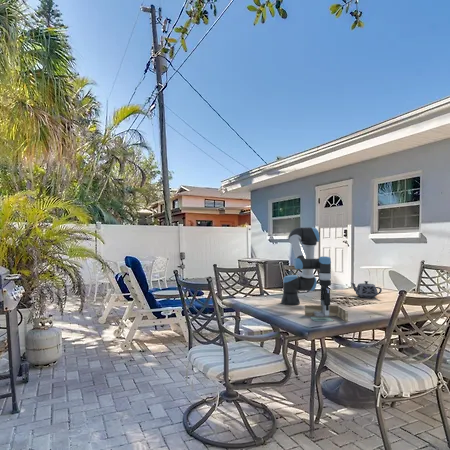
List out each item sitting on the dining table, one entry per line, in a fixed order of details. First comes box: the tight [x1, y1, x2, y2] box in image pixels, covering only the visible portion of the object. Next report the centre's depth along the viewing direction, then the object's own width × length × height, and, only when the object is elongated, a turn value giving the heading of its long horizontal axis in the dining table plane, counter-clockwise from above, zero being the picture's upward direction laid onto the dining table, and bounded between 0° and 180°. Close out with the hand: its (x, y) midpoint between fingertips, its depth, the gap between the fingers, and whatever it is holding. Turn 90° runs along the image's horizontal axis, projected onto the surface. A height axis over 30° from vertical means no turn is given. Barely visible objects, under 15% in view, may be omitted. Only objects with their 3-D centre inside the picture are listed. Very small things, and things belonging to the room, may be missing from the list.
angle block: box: [313, 299, 330, 317], centre depth 221 cm, size 9×6×10 cm, turn 90°
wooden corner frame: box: [304, 304, 349, 323], centre depth 224 cm, size 18×24×7 cm
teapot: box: [350, 280, 383, 299], centre depth 308 cm, size 19×31×15 cm, turn 38°
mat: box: [309, 316, 334, 322], centre depth 221 cm, size 10×13×1 cm
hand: (325, 314), depth 221 cm, fingers closed on angle block, 6 cm apart
